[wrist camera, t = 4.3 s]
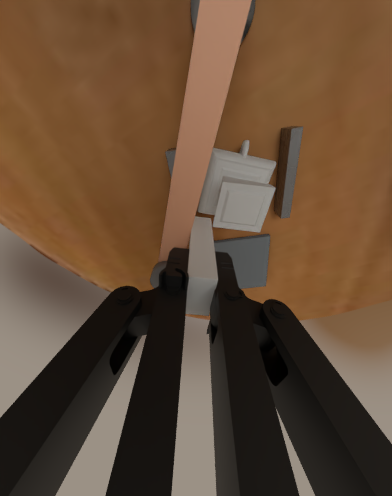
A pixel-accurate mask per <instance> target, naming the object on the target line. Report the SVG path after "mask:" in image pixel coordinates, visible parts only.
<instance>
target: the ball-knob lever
mask: <svg viewBox="0 0 392 496" xmlns="http://www.w3.org/2000/svg"><path fill="white" fill-rule="evenodd" d="M251 1H252V0H200V4H199V10H198V17H197V23H196V29H195V35H194V42H193V48H192V54H191V61H190V67H189V73H188V79H187V86H186V92H185V98H184V104H183V111H182V117H181V123H180V129H179V136H178V142H177V148H176V154H175V161H174V167H173V173H172V179H171V186H170V192H169V198H168V205H167V211H166V217H165V223H164V230H163V236H162V242H161V248H160V255H159V261H158V263H157V264H156V265H155V266H154V268H153V271H152V275H151V278H150V282H151V285H152V286H153V287H154V288H156V287H158V286H159V273H160V272H161V270H163V269H164V268H166V264H167V260H168V256H169V252H170V251H171V250H172V249H173V248H174V247H176V248H185V249H187V245H188V242H189V238H190V234H191V229H192V226H193V222H194V219H195V215H196V211H197V207H198V203H199V200H200V196H201V192H202V188H203V184H204V180H205V177H206V173H207V169H208V165H209V161H210V158H211V154H212V150H213V146H214V142H215V139H216V135H217V131H218V127H219V123H220V119H221V116H222V112H223V108H224V104H225V100H226V97H227V93H228V89H229V85H230V81H231V77H232V74H233V70H234V66H235V62H236V58H237V55H238V51H239V47H240V43H241V39H242V35H243V32H244V28H245V24H246V20H247V16H248V13H249V9H250V5H251Z"/></svg>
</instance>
